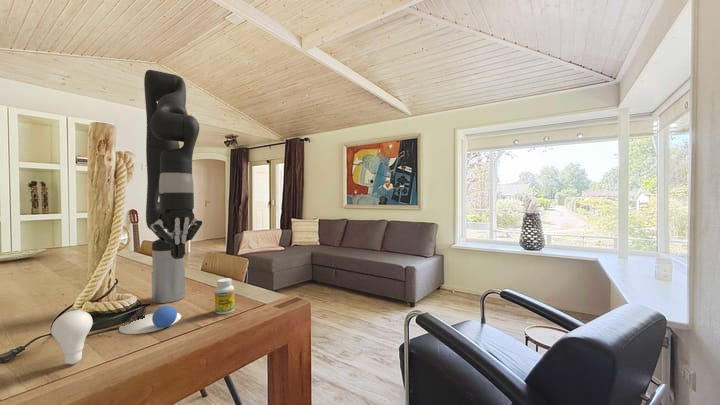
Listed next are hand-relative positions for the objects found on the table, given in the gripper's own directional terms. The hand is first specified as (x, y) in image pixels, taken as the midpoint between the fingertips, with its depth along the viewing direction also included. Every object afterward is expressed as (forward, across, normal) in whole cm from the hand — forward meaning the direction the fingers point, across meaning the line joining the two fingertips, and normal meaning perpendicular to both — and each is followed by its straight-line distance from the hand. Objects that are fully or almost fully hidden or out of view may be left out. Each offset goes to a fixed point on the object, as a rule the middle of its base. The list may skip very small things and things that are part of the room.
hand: (178, 258), depth 75 cm
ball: (+16, 0, -6) cm, 17 cm away
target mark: (+19, 0, -12) cm, 22 cm away
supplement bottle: (+19, -14, 0) cm, 24 cm away
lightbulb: (+19, +19, -5) cm, 27 cm away
